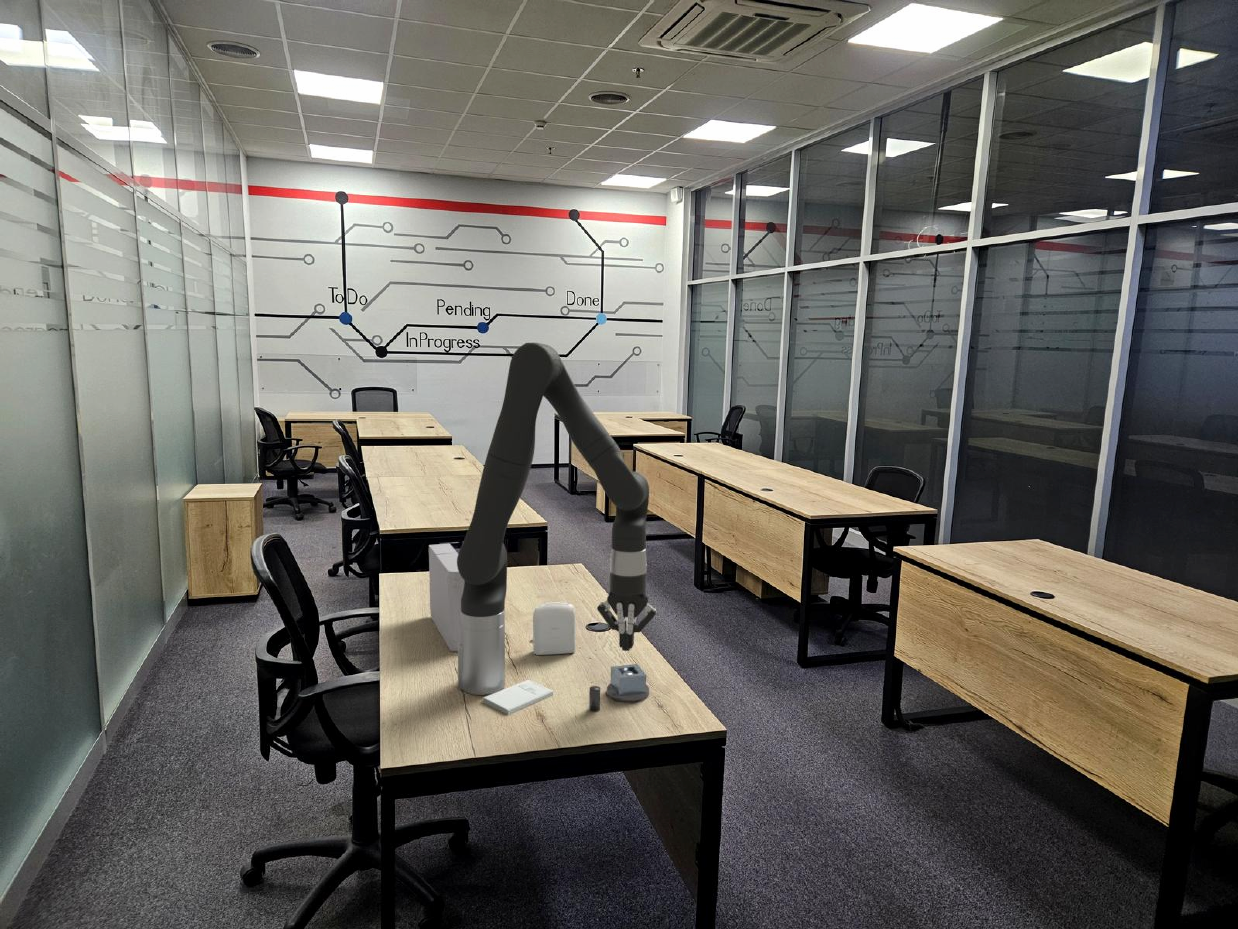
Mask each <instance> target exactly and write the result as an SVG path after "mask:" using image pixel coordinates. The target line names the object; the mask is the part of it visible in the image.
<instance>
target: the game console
mask: <svg viewBox="0 0 1238 929" xmlns="http://www.w3.org/2000/svg"><path fill="white" fill-rule="evenodd" d="M458 553H459V552H457V551H456V549H455V548H454V547H453V545H452V544H451V543H449V542H448V543H439V544H429V545H428V564H429V565H428V569H429V570H428V572H429V575H428V576H429V607H430V608H429V609H430V617H431V620H432V619H433V620H432V621H433V623H434V624H435V626H437V627H436V628H437V631H439V633H440V635H441V637H442V638H443V640H444V642H445V644H446V646H447V647H448V648H449V649H448V650H449V651H451V652H458V646H459V645H460V644H461V597H462V594H463V589H464V579H463V578H462V577H461V575H460V573H459V571H458V567H457V557H458Z"/></svg>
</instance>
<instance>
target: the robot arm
mask: <svg viewBox="0 0 1238 929" xmlns="http://www.w3.org/2000/svg"><path fill="white" fill-rule="evenodd" d="M506 379H507V380H506V386H505V391H504V398H503V402H502V405H501V410H500V413H499V416H498V418H497V422H496V425H495V428H494V432H493V434H492V439H491V441H490V445H489V448H488V451H487V454H486V457H485V462H484V464H483V469H482V474H481V478H480V480H479V481H480V482H479V485H478V486H479V487H478V490H477V496H476V500H475V506H474V512H473V515H472V518H471V520H470V524H469V526H468V529H467V532H466V535H465V536H464V540H463V541H462V544H461V547H460V549H459V552H457V553H458V557H457V567H458V571H459V573H460V575H461V577H462V578H463V579H464V589H463V594H462V597H461V644H460V645H459V646H458V651H457V688H458V690H463V692H466V693H468V694H471V695H478V696H479V695H481V696H483V695H491V694H494V693H496V692H498V691H501V690H503V689H505V688H504V687H505V686H506V648H505V647H506V645H505V644H506V643H505V641H506V635H505V634H506V626H505V624H506V623H505V622H506V620H505V619H506V618H505V616H506V615H505V614H506V613H505V612H506V611H505V609H506V608H505V607H506V606H505V604H506V596H507V588H508V587H507V586H508V583H507V582H508V577H507V576H508V554H507V549H506V546H505V544H504V541H505V540H504V539H505V535H506V530H507V528H508V524H509V523H510V520H511V518H512V515H513V514H514V511H515V509H516V507H517V506H518V503H519V500H520V498H521V497H522V493H523V492H524V489H525V487H526V483H527V481H528V478H529V476H530V475H529V474H530V470H531V468H532V467H531V466H532V464H533V459H534V456H535V455H534V454H535V447H536V423H537V417H538V412H539V409H540V407H541V403H542V401H543V398H545V399H546V400H547V401H548V403H549V404H550V405H551V406H552V408H553V409H554V411H555V412H556V413H557V415H558V416H559V419H560V420H561V422H562V424H563V426H564V428H565V429H566V432H567V434H568V436H569V438H570V439H571V441H572V443H573V444H574V446H575V448H576V449H577V451H578V452H579V453H580V454H581V456H582V457H583V459H584V460H585V461H586V463H587V464H588V465H589V467H590V468H591V469H592V470H593V472H594V473H595V475H596V477H597V480H598V482H599V484H600V486H601V487H602V489H603V491H604V493H605V494H606V496H607V498H608V499H609V500H610V502H611V503H612V504H613V505H615V518H614V521H613V523H612V527H611V528H612V529H611V551H610V557H609V594H608V595H607V597H606V600H605V601H602V602H600V603H599V604H598V606H597V607H596V610H597V611H598V613H599V614H600V615H601V617H602V618H603V620H604V621H605V622H606V624H607V625H608V626H609V628H610V629H611V630H612V631H616V632H618V633H619V635H618V636H619V639H618V640H619V641H618V647H620V648H621V651H623V652H624V651H625V652H626V651H627V652H630V650H631V649H632V648H633V647H634V645H635V633H641V632H642V631H643V630H644V628H645V627H646V626H647V625H648V624H649V623H650V621H652V619H653V618H654V617H655V616H656V615H657V613H658V607H656V606H652V604H650V603H649V599H648V597H647V570H648V564H647V560H648V558H647V549H646V546H647V545H646V543H647V542H646V541H647V529H646V528H647V526H646V525H647V524H646V522H647V516H648V509H649V501H650V500H649V499H650V485H649V482H648V480H647V478H646V477H645V476H644V475H643V474H641V473H640V472H638V471H633V470H632V471H631V469H630V468H629V467H628V465H627V464H626V462H625V461H624V459H623V452H622V450H621V449H620V447H619V445H618V444H617V442H616V441H615V440H614V438H613V437H612V435H611V434H610V433H609V432H608V431H607V429H606V428H605V427H604V425H603V424H602V423H601V421H600V419H598V417H597V416H596V415H595V413H594V412H593V411H592V410H591V408H590V407H589V405H588V404H587V402H586V401H585V400H584V398H583V397H582V395H581V393H580V391H579V390H578V388H577V387H576V385H575V384H574V382H573V379H572V377H571V376H570V374H569V372H568V370H567V368H566V366H565V364H564V362H563V361H562V359H561V356H560V355H559V353H558V351H556V349H555V348H553V346H550V345H548V344H545V343H540V342H527V343H524V344H521V346H519V347H518V348H517V349H516V350H515V351H514V352H513V355H512V357H511V359H510V363H509V368H508V374H507V378H506ZM644 609H645V610H644ZM611 610H613V612H612V611H611ZM643 611H644V617H642V619H641V620H640V621H639V622H638V623H637V622H636V621H637V617H639V615H640V614H641V612H643ZM613 613H614V614H615V615H616V616H617V617H616V616H615V615H614V614H613ZM636 623H637V624H636Z"/></svg>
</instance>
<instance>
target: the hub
mask: <svg viewBox="0 0 1238 929" xmlns="http://www.w3.org/2000/svg"><path fill="white" fill-rule="evenodd" d="M630 674H633V672H632V671H625V672H623V675H630ZM606 695H607V696H608V697H609V699H611V700H614V701H616V702H622V703H626V702H632V703H638V702H642V701H644V700H646V699H647V698H648V697H649V695H650V687H649V686H648V684H646V693H642V694H634V695H626V696H618V694H617V693H616V692H615V690H614V689H613V687H612V686H611V682H610V683H608V685H607V687H606Z"/></svg>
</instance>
